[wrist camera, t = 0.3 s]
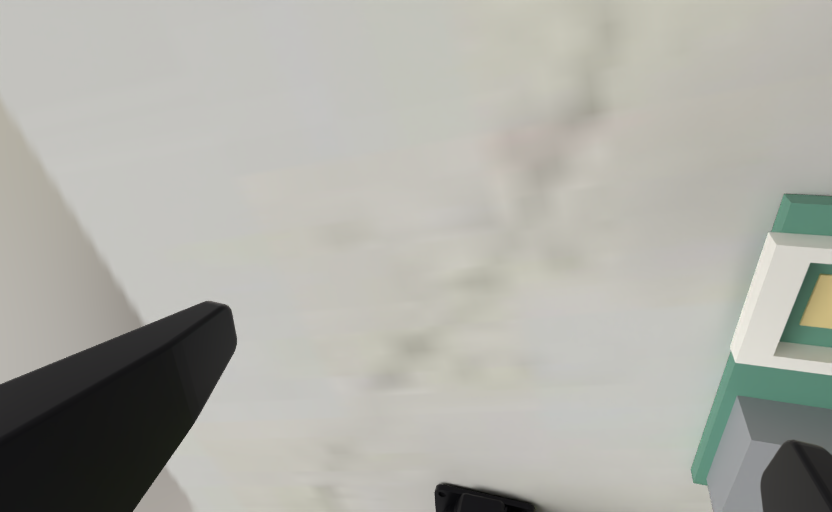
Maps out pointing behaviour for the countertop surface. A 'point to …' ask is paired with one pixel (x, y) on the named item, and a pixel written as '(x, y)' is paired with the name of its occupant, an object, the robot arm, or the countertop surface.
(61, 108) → the countertop surface
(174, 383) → the robot arm
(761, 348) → the board
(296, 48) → the countertop surface
